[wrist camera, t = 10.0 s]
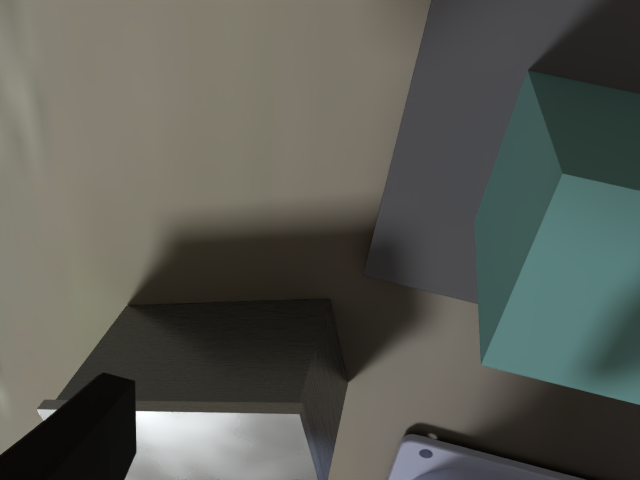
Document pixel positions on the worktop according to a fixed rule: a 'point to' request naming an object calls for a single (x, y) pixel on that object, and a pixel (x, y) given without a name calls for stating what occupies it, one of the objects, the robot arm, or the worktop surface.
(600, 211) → the teal block
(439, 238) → the mat
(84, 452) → the robot arm
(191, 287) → the worktop surface
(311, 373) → the control box
